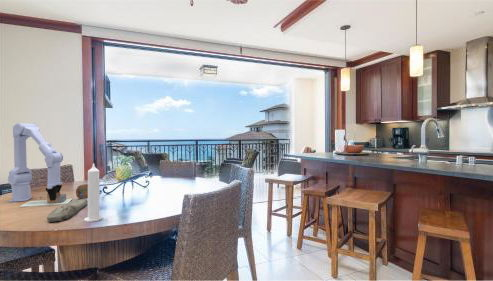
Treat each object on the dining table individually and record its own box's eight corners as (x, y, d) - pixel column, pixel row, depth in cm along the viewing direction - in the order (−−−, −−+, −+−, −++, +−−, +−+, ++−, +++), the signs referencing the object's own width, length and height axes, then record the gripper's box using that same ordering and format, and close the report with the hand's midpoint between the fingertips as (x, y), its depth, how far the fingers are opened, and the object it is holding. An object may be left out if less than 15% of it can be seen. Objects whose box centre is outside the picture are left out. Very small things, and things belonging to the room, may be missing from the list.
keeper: (49, 200, 150) (49, 192, 150) (60, 200, 151) (60, 192, 151) (47, 202, 146) (47, 194, 146) (58, 201, 148) (58, 193, 148)
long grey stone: (92, 205, 150) (72, 207, 147) (92, 196, 150) (72, 198, 147) (67, 221, 116) (40, 224, 113) (67, 209, 116) (40, 211, 113)
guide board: (29, 202, 150) (29, 194, 150) (73, 199, 157) (73, 192, 157) (19, 207, 139) (19, 199, 138) (67, 204, 146) (67, 196, 146)
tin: (79, 200, 155) (79, 185, 155) (74, 200, 156) (74, 185, 156) (98, 194, 170) (98, 181, 170) (94, 194, 171) (94, 181, 170)
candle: (89, 217, 123) (89, 162, 123) (105, 217, 124) (105, 162, 123) (81, 222, 116) (81, 163, 116) (98, 221, 117) (98, 163, 116)
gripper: (58, 176, 143) (58, 202, 143) (66, 172, 157) (66, 196, 157) (42, 176, 141) (42, 203, 141) (52, 173, 154) (52, 197, 154)
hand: (54, 199), depth 149 cm, fingers closed on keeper, 4 cm apart
